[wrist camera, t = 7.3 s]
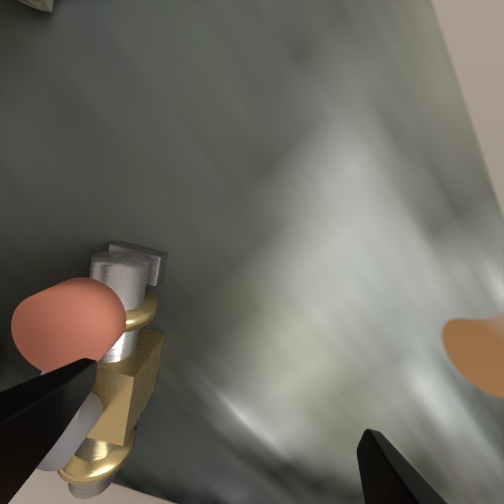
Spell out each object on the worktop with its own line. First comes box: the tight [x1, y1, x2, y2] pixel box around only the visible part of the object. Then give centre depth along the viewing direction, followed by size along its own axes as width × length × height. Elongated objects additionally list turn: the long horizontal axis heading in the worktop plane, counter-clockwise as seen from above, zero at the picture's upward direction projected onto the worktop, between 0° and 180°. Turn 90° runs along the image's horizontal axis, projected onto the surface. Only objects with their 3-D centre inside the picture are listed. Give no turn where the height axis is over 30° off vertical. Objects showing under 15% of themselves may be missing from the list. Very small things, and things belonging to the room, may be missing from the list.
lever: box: [11, 277, 127, 471], centre depth 15 cm, size 12×4×4 cm, turn 162°
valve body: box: [57, 241, 168, 499], centre depth 20 cm, size 20×6×6 cm, turn 166°
